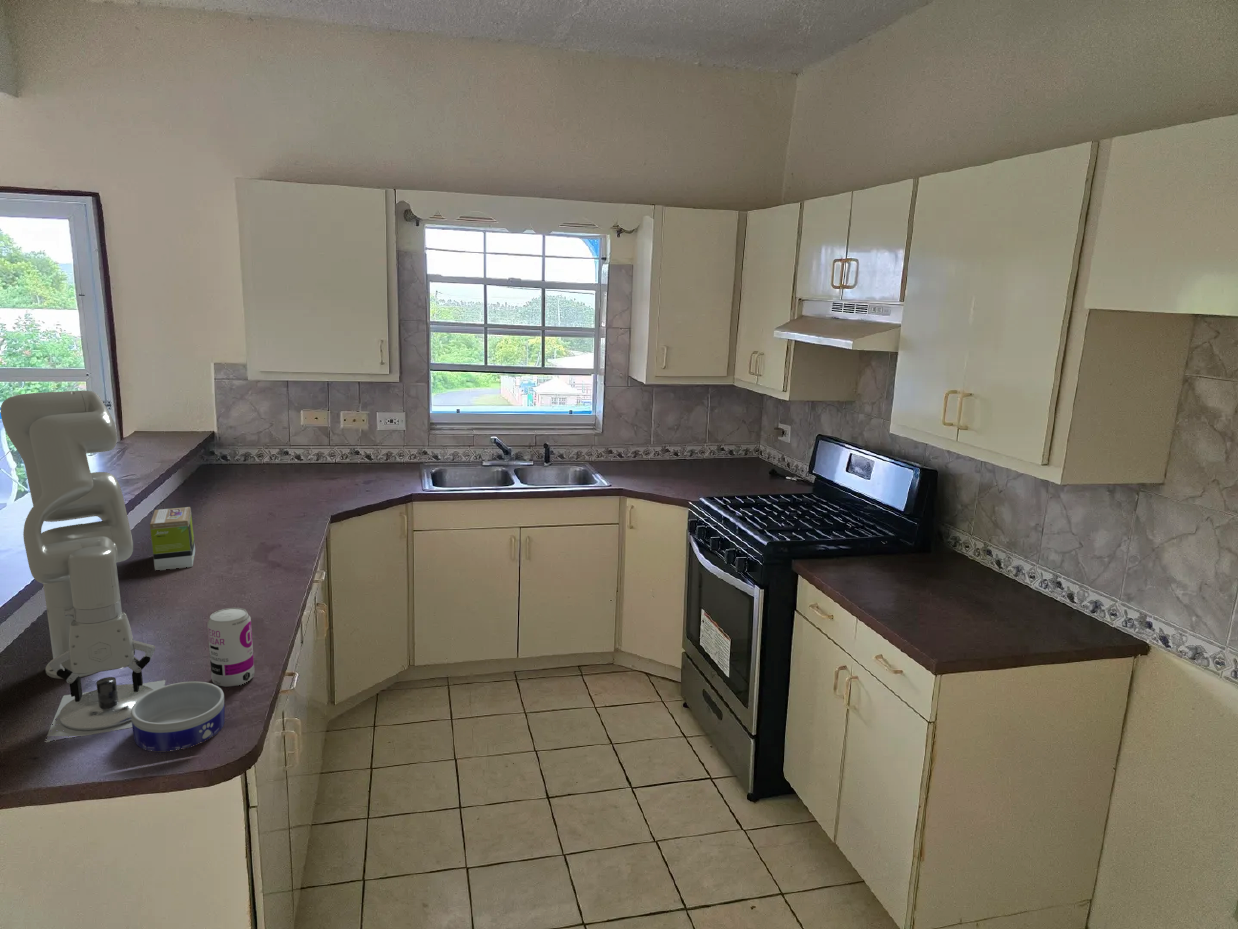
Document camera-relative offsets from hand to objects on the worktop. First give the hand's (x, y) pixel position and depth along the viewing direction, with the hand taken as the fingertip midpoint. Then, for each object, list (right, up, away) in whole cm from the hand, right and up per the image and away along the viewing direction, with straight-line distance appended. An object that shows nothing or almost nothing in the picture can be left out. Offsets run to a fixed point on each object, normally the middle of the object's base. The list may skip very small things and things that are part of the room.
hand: (108, 694), depth 155 cm
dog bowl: (+17, -6, -5) cm, 18 cm away
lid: (-1, -3, +1) cm, 4 cm away
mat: (-1, -4, +1) cm, 4 cm away
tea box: (-33, +16, +82) cm, 90 cm away
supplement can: (+17, -1, +15) cm, 23 cm away
